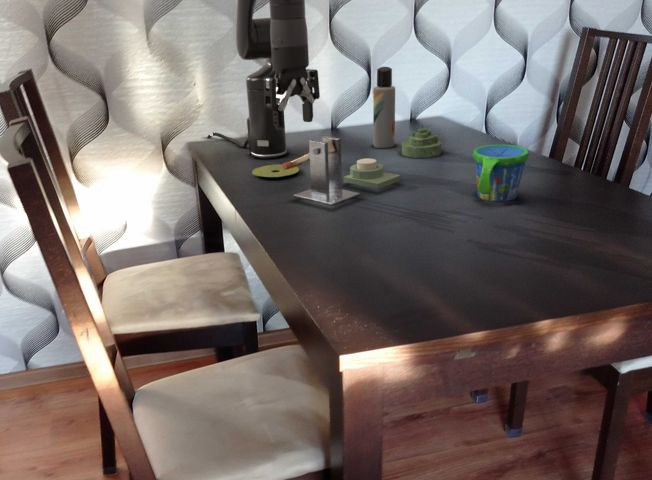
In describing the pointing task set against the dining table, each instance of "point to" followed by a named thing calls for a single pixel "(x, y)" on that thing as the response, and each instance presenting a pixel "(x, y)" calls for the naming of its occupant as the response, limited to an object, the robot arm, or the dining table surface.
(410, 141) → the decorative artifact
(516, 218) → the dining table surface
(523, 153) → the snack cup
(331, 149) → the lever
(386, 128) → the lotion bottle
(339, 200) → the bracket
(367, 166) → the button
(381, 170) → the control block
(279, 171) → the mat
